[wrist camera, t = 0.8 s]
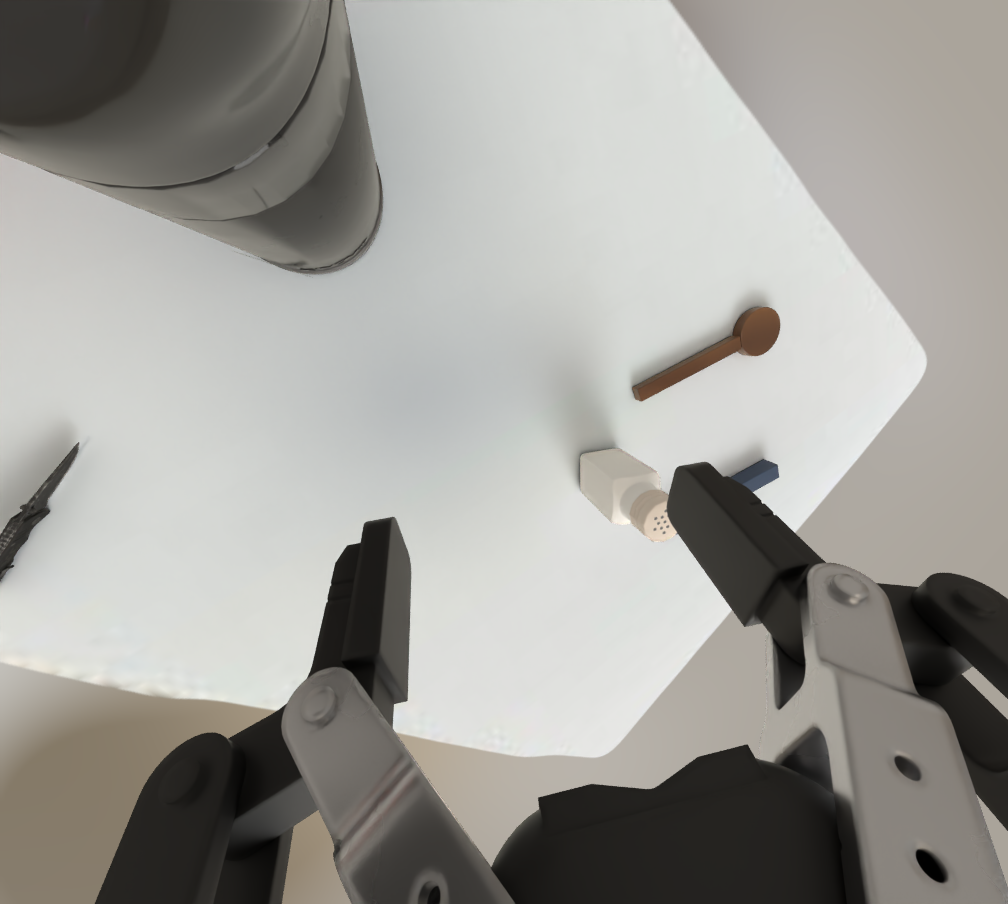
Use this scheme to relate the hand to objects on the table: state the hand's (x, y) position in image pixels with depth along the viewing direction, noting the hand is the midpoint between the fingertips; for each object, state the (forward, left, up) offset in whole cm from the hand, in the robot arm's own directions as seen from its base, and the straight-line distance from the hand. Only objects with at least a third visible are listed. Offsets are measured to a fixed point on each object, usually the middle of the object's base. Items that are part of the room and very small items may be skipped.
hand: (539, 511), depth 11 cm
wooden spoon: (+7, +20, -19) cm, 29 cm away
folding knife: (-5, -28, -20) cm, 34 cm away
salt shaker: (+12, +8, -20) cm, 24 cm away
